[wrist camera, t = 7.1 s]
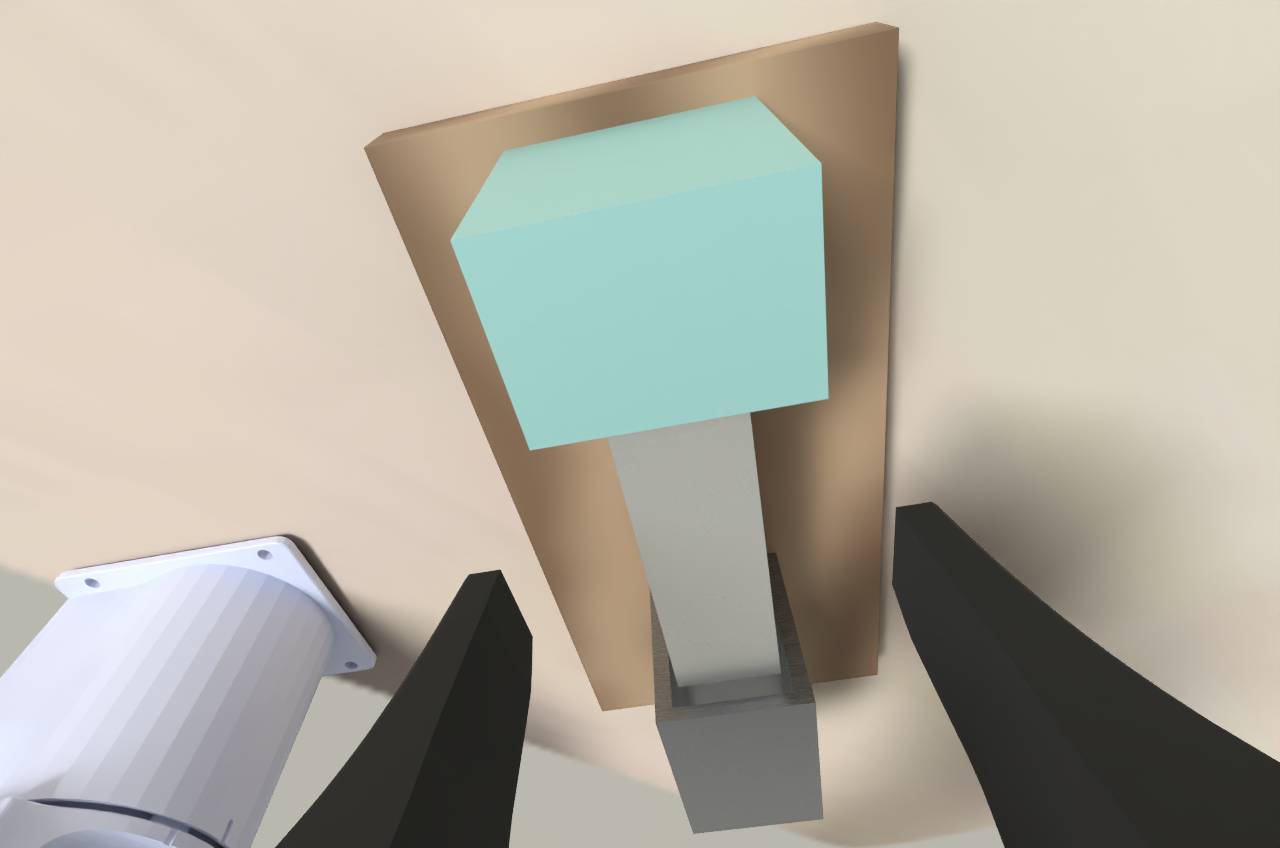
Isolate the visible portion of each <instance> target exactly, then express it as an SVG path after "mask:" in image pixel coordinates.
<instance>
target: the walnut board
mask: <svg viewBox="0 0 1280 848" xmlns="http://www.w3.org/2000/svg"><path fill="white" fill-rule="evenodd" d="M898 41H899V28H898V27H894V26H890V25H886V24H882V23H878V22H874V23H870V24H865V25H861V26H856V27H852V28H847V29H843V30H839V31H834V32H830V33H825V34H821V35H817V36H812V37H808V38H803V39H799V40H794V41H790V42H786V43H781V44H777V45H772V46H768V47H763V48H759V49H755V50H750V51H746V52H741V53H737V54H732V55H728V56H724V57H719V58H715V59H710V60H706V61H701V62H697V63H693V64H688V65H684V66H679V67H675V68H670V69H666V70H662V71H657V72H653V73H648V74H644V75H639V76H635V77H631V78H626V79H622V80H617V81H613V82H608V83H604V84H600V85H595V86H591V87H586V88H582V89H577V90H573V91H569V92H564V93H560V94H555V95H551V96H546V97H542V98H538V99H533V100H529V101H524V102H520V103H515V104H511V105H507V106H502V107H498V108H493V109H489V110H484V111H480V112H476V113H471V114H467V115H462V116H458V117H453V118H449V119H445V120H440V121H436V122H431V123H427V124H422V125H418V126H414V127H409V128H405V129H400V130H396V131H391V132H387V133H383V134H382V135H380V136H379V137H378V138H376V139H375V140H374V141H372V142H371V143H370V144H368V145H367V146H366V147H364V149H365V152H366V154H367V157H368V159H369V161H370V164H371V166H372V168H373V171H374V173H375V175H376V178H377V180H378V183H379V185H380V187H381V190H382V192H383V194H384V197H385V199H386V201H387V204H388V206H389V208H390V211H391V213H392V216H393V218H394V220H395V223H396V225H397V227H398V230H399V232H400V234H401V237H402V239H403V242H404V244H405V246H406V249H407V251H408V253H409V256H410V258H411V260H412V263H413V265H414V268H415V270H416V272H417V275H418V277H419V279H420V282H421V284H422V286H423V289H424V291H425V294H426V296H427V298H428V301H429V303H430V305H431V308H432V310H433V312H434V315H435V317H436V319H437V322H438V324H439V327H440V329H441V331H442V334H443V336H444V338H445V341H446V343H447V345H448V348H449V350H450V353H451V355H452V357H453V360H454V362H455V364H456V367H457V369H458V371H459V374H460V376H461V379H462V381H463V383H464V386H465V388H466V390H467V393H468V395H469V397H470V400H471V402H472V405H473V407H474V409H475V412H476V414H477V416H478V419H479V421H480V423H481V426H482V428H483V430H484V433H485V435H486V438H487V440H488V442H489V445H490V447H491V449H492V452H493V454H494V456H495V459H496V461H497V464H498V466H499V468H500V471H501V473H502V475H503V478H504V480H505V482H506V485H507V487H508V490H509V492H510V494H511V497H512V499H513V501H514V504H515V506H516V508H517V511H518V513H519V516H520V518H521V520H522V523H523V525H524V527H525V530H526V532H527V534H528V537H529V539H530V541H531V544H532V546H533V549H534V551H535V553H536V556H537V558H538V560H539V563H540V565H541V567H542V570H543V572H544V575H545V577H546V579H547V582H548V584H549V586H550V589H551V591H552V593H553V596H554V598H555V601H556V603H557V605H558V608H559V610H560V612H561V615H562V617H563V619H564V622H565V624H566V627H567V629H568V631H569V634H570V636H571V638H572V641H573V643H574V645H575V648H576V650H577V652H578V655H579V657H580V660H581V662H582V664H583V667H584V669H585V671H586V674H587V676H588V678H589V681H590V683H591V686H592V688H593V690H594V693H595V695H596V697H597V700H598V702H599V704H600V707H601V709H602V711H608V710H616V709H623V708H631V707H638V706H646V705H653V704H655V693H654V672H653V651H652V629H651V608H650V586H649V583H648V579H647V575H646V572H645V568H644V565H643V561H642V558H641V554H640V551H639V547H638V544H637V540H636V537H635V533H634V530H633V526H632V523H631V519H630V516H629V512H628V509H627V505H626V502H625V498H624V495H623V491H622V488H621V484H620V481H619V477H618V474H617V470H616V467H615V463H614V460H613V456H612V453H611V449H610V446H609V442H608V439H607V437H605V438H599V439H594V440H588V441H582V442H576V443H571V444H565V445H559V446H553V447H547V448H542V449H536V450H530V449H529V447H528V444H527V442H526V439H525V436H524V434H523V431H522V428H521V426H520V423H519V420H518V418H517V415H516V413H515V410H514V407H513V405H512V402H511V399H510V397H509V394H508V391H507V389H506V386H505V384H504V381H503V378H502V376H501V373H500V370H499V368H498V365H497V362H496V360H495V357H494V355H493V352H492V349H491V347H490V344H489V341H488V339H487V336H486V333H485V331H484V328H483V326H482V323H481V320H480V318H479V315H478V312H477V310H476V307H475V304H474V302H473V299H472V297H471V294H470V291H469V289H468V286H467V283H466V281H465V278H464V275H463V273H462V270H461V268H460V265H459V262H458V260H457V257H456V254H455V252H454V249H453V246H452V244H451V241H450V240H451V238H452V236H453V235H454V233H455V232H456V230H457V228H458V227H459V225H460V223H461V222H462V220H463V218H464V217H465V215H466V213H467V212H468V210H469V208H470V207H471V205H472V203H473V202H474V200H475V198H476V197H477V195H478V193H479V192H480V190H481V188H482V187H483V185H484V183H485V182H486V180H487V178H488V177H489V175H490V173H491V172H492V170H493V168H494V167H495V165H496V163H497V162H498V160H499V158H500V157H501V155H502V153H503V152H504V151H506V150H511V149H515V148H520V147H524V146H529V145H534V144H538V143H543V142H547V141H552V140H556V139H561V138H566V137H570V136H575V135H579V134H584V133H588V132H593V131H597V130H602V129H607V128H611V127H616V126H620V125H625V124H629V123H634V122H639V121H643V120H648V119H652V118H657V117H661V116H666V115H671V114H675V113H680V112H684V111H689V110H693V109H698V108H702V107H707V106H712V105H716V104H721V103H725V102H730V101H734V100H739V99H744V98H748V97H753V96H756V97H757V98H758V99H759V100H760V101H761V102H762V103H763V104H764V105H765V106H766V107H767V108H768V109H769V110H770V111H771V112H772V113H773V114H774V115H775V116H776V117H777V119H778V120H779V121H780V122H781V123H782V124H783V125H784V126H785V127H786V128H787V129H788V130H789V131H790V132H791V133H792V134H793V135H794V136H795V137H796V138H797V139H798V140H799V141H800V142H801V143H802V144H803V145H804V146H805V147H806V148H807V149H808V150H809V151H810V152H811V153H812V154H813V155H814V156H815V157H816V158H817V159H818V160H819V161H820V162H821V167H822V199H823V232H824V265H825V298H826V331H827V364H828V397H829V399H824V400H819V401H813V402H807V403H801V404H796V405H790V406H784V407H778V408H772V409H767V410H761V411H755V412H750V416H751V424H752V433H753V441H754V450H755V458H756V467H757V475H758V484H759V492H760V500H761V509H762V517H763V526H764V534H765V543H766V551H767V554H770V553H776V554H777V558H778V562H779V565H780V569H781V573H782V577H783V581H784V585H785V588H786V592H787V596H788V600H789V604H790V607H791V611H792V615H793V619H794V623H795V626H796V630H797V634H798V638H799V642H800V646H801V649H802V653H803V657H804V661H805V665H806V668H807V672H808V676H809V680H810V684H811V683H819V682H826V681H834V680H841V679H849V678H856V677H864V676H871V675H877V672H878V642H879V612H880V582H881V552H882V522H883V492H884V462H885V432H886V402H887V372H888V342H889V312H890V282H891V252H892V222H893V192H894V162H895V132H896V102H897V71H898Z"/></svg>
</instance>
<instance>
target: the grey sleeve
mask: <svg viewBox="0 0 1280 848" xmlns="http://www.w3.org/2000/svg"><path fill="white" fill-rule="evenodd" d="M767 560H768V568H769V577H770V585H771V594H772V602H773V610H774V619H775V627H776V636H777V644H778V653H779V661H780V670H781V673H780V674H773V675H766V676H758V677H751V678H743V679H736V680H729V681H721V682H714V683H706V684H699V685H692V686H684V687H678V684H677V681H676V677H675V674H674V670H673V667H672V663H671V660H670V656H669V653H668V649H667V646H666V642H665V639H664V635H663V632H662V628H661V625H660V621H659V618H658V614H657V611H656V607H655V604H654V600H653V597H652V593H651V590H650V608H651V629H652V651H653V672H654V693H655V715H656V725H657V728H658V731H659V734H660V737H661V740H662V743H663V746H664V749H665V752H666V754H667V757H668V760H669V763H670V766H671V769H672V772H673V775H674V778H675V781H676V784H677V787H678V790H679V793H680V796H681V798H682V801H683V804H684V807H685V810H686V813H687V816H688V819H689V822H690V825H691V828H692V830H693V833H694V834H695V833H704V832H713V831H722V830H730V829H739V828H748V827H757V826H766V825H775V824H783V823H792V822H801V821H810V820H819V819H823V808H822V793H821V778H820V763H819V748H818V733H817V718H816V703H815V699H814V695H813V691H812V688H811V684H810V680H809V676H808V672H807V668H806V665H805V661H804V657H803V653H802V649H801V646H800V642H799V638H798V634H797V630H796V626H795V623H794V619H793V615H792V611H791V607H790V604H789V600H788V596H787V592H786V588H785V585H784V581H783V577H782V573H781V569H780V565H779V562H778V558H777V554H776V553H770V554H767Z"/></svg>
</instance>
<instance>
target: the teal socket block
mask: <svg viewBox="0 0 1280 848" xmlns="http://www.w3.org/2000/svg"><path fill="white" fill-rule="evenodd" d="M450 241H451V244H452V246H453V249H454V252H455V254H456V257H457V260H458V262H459V265H460V268H461V270H462V273H463V275H464V278H465V281H466V283H467V286H468V289H469V291H470V294H471V297H472V299H473V302H474V304H475V307H476V310H477V312H478V315H479V318H480V320H481V323H482V326H483V328H484V331H485V333H486V336H487V339H488V341H489V344H490V347H491V349H492V352H493V355H494V357H495V360H496V362H497V365H498V368H499V370H500V373H501V376H502V378H503V381H504V384H505V386H506V389H507V391H508V394H509V397H510V399H511V402H512V405H513V407H514V410H515V413H516V415H517V418H518V420H519V423H520V426H521V428H522V431H523V434H524V436H525V439H526V442H527V444H528V447H529V449H530V450H536V449H542V448H547V447H553V446H559V445H565V444H571V443H576V442H582V441H588V440H594V439H599V438H605V437H611V436H617V435H622V434H628V433H634V432H640V431H646V430H651V429H657V428H663V427H669V426H674V425H680V424H686V423H692V422H697V421H703V420H709V419H715V418H721V417H726V416H732V415H738V414H744V413H749V412H755V411H761V410H767V409H772V408H778V407H784V406H790V405H796V404H801V403H807V402H813V401H819V400H824V399H829V397H828V364H827V331H826V298H825V265H824V232H823V199H822V167H821V162H820V161H819V160H818V159H817V158H816V157H815V156H814V155H813V154H812V153H811V152H810V151H809V150H808V149H807V148H806V147H805V146H804V145H803V144H802V143H801V142H800V141H799V140H798V139H797V138H796V137H795V136H794V135H793V134H792V133H791V132H790V131H789V130H788V129H787V128H786V127H785V126H784V125H783V124H782V123H781V122H780V121H779V120H778V119H777V117H776V116H775V115H774V114H773V113H772V112H771V111H770V110H769V109H768V108H767V107H766V106H765V105H764V104H763V103H762V102H761V101H760V100H759V99H758V98H757V97H756V96H753V97H748V98H744V99H739V100H734V101H730V102H725V103H721V104H716V105H712V106H707V107H702V108H698V109H693V110H689V111H684V112H680V113H675V114H671V115H666V116H661V117H657V118H652V119H648V120H643V121H639V122H634V123H629V124H625V125H620V126H616V127H611V128H607V129H602V130H597V131H593V132H588V133H584V134H579V135H575V136H570V137H566V138H561V139H556V140H552V141H547V142H543V143H538V144H534V145H529V146H524V147H520V148H515V149H511V150H506V151H504V152H503V153H502V155H501V157H500V158H499V160H498V162H497V163H496V165H495V167H494V168H493V170H492V172H491V173H490V175H489V177H488V178H487V180H486V182H485V183H484V185H483V187H482V188H481V190H480V192H479V193H478V195H477V197H476V198H475V200H474V202H473V203H472V205H471V207H470V208H469V210H468V212H467V213H466V215H465V217H464V218H463V220H462V222H461V223H460V225H459V227H458V228H457V230H456V232H455V233H454V235H453V236H452V238H451V240H450Z"/></svg>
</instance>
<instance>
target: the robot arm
mask: <svg viewBox="0 0 1280 848" xmlns="http://www.w3.org/2000/svg"><path fill="white" fill-rule="evenodd" d="M54 582H55V586H56V587H57V588H58V590H60V591H61V592H62V593H63V594H64V595H65V596H66V597H67V598H68V600H67V601H66V602H65V604H64V605H63V606H62V607H61V608H60V609H59V611H58V612H57V613H56V614H55V615H54V616H53V618H52V619H51V620H50V621H49V622H48V623H47V624H46V626H45V627H44V628H43V629H42V630H41V632H40V633H39V634H38V635H37V636H36V637H35V638H34V640H33V641H32V642H31V643H30V644H29V645H28V647H27V648H26V649H25V650H24V651H23V652H22V654H21V655H20V656H19V657H18V658H17V659H16V661H15V662H14V663H13V664H12V665H11V667H9V669H8V670H7V671H6V672H5V674H3V676H2V677H1V678H0V848H251V845H252V843H253V840H254V838H255V835H256V833H257V831H258V828H259V826H260V824H261V821H262V819H263V816H264V814H265V811H266V809H267V807H268V804H269V802H270V799H271V797H272V795H273V792H274V790H275V787H276V785H277V783H278V780H279V778H280V775H281V773H282V771H283V768H284V766H285V763H286V761H287V759H288V756H289V754H290V751H291V749H292V747H293V744H294V742H295V739H296V737H297V735H298V732H299V730H300V727H301V725H302V722H303V720H304V718H305V715H306V713H307V710H308V708H309V705H310V703H311V701H312V698H313V696H314V694H315V691H316V689H317V686H318V684H319V682H320V679H321V677H322V676H327V675H334V674H341V673H348V672H355V671H362V670H368V669H371V668H373V667H374V665H375V662H376V659H377V657H376V654H375V653H374V652H373V650H372V649H371V648H370V646H369V645H368V644H367V642H366V641H365V639H364V638H363V637H362V635H361V634H360V633H359V631H358V630H357V629H356V627H355V626H354V624H353V623H352V622H351V620H350V619H349V618H348V616H347V615H346V614H345V612H344V611H343V609H342V608H341V607H340V605H339V604H338V603H337V601H336V600H335V599H334V597H333V596H332V594H331V593H330V592H329V590H328V589H327V588H326V586H325V585H324V584H323V582H322V581H321V579H320V578H319V577H318V575H317V574H316V573H315V571H314V570H313V568H312V567H311V566H310V564H309V563H308V562H307V560H306V559H305V558H304V556H303V555H302V553H301V552H300V551H299V549H298V548H297V547H296V545H295V544H294V543H293V542H292V541H291V540H290V539H288V538H286V537H282V536H274V537H268V538H262V539H256V540H250V541H244V542H238V543H232V544H226V545H220V546H214V547H208V548H202V549H196V550H190V551H184V552H178V553H172V554H166V555H160V556H154V557H148V558H142V559H136V560H130V561H124V562H118V563H112V564H106V565H100V566H94V567H88V568H82V569H76V570H70V571H65V572H62V573H61V574H60V575H59V576H58V577H57V579H56V580H55V581H54ZM892 585H893V588H894V591H895V593H896V596H897V599H898V602H899V605H900V608H901V611H902V614H903V617H904V620H905V623H906V625H907V628H908V631H909V634H910V636H911V639H912V641H913V643H914V645H915V648H916V650H917V652H918V654H919V656H920V658H921V660H922V662H923V664H924V666H925V668H926V671H927V673H928V675H929V677H930V679H931V681H932V683H933V685H934V687H935V689H936V691H937V693H938V695H939V698H940V700H941V702H942V704H943V706H944V708H945V710H946V712H947V714H948V716H949V718H950V720H951V722H952V724H953V726H954V728H955V730H956V733H957V735H958V737H959V739H960V741H961V743H962V745H963V747H964V749H965V751H966V753H967V755H968V757H969V759H970V762H971V764H972V766H973V768H974V771H975V773H976V775H977V777H978V780H979V782H980V784H981V787H982V789H983V791H984V794H985V797H986V799H987V802H988V805H989V807H990V810H991V813H992V815H993V818H994V820H995V823H996V826H997V828H998V831H999V834H1000V836H1001V839H1002V842H1003V844H1004V847H1005V848H1280V762H1278V761H1276V760H1275V759H1273V758H1271V757H1270V756H1268V755H1266V754H1265V753H1263V752H1261V751H1260V750H1258V749H1256V748H1255V747H1253V746H1251V745H1249V744H1248V743H1246V742H1244V741H1243V740H1241V739H1239V738H1238V737H1236V736H1234V735H1233V734H1231V733H1229V732H1228V731H1226V730H1224V729H1223V728H1221V727H1219V726H1218V725H1216V724H1214V723H1213V722H1211V721H1209V720H1208V719H1206V718H1205V717H1203V716H1201V715H1200V714H1198V713H1197V712H1195V711H1194V710H1192V709H1191V708H1189V707H1188V706H1186V705H1185V704H1183V703H1182V702H1180V701H1178V700H1177V699H1175V698H1174V697H1172V696H1171V695H1169V694H1168V693H1166V692H1165V691H1163V690H1162V689H1160V688H1159V687H1157V686H1156V685H1154V684H1153V683H1151V682H1150V681H1149V680H1147V679H1146V678H1144V677H1143V676H1141V675H1140V674H1138V673H1137V672H1135V671H1134V670H1133V669H1131V668H1130V667H1128V666H1127V665H1125V664H1124V663H1123V662H1121V661H1120V660H1119V659H1117V658H1116V657H1114V656H1113V655H1112V654H1110V653H1109V652H1108V651H1106V650H1105V649H1104V648H1102V647H1101V646H1099V645H1098V644H1097V643H1095V642H1094V641H1093V640H1091V639H1090V638H1089V637H1088V636H1086V635H1085V634H1084V633H1082V632H1081V631H1080V630H1079V629H1077V628H1076V627H1075V626H1073V625H1072V624H1071V623H1070V622H1068V621H1067V620H1066V619H1064V618H1063V617H1062V616H1061V615H1059V614H1058V613H1057V612H1056V611H1054V610H1053V609H1052V608H1051V607H1050V606H1048V605H1047V604H1046V603H1045V602H1043V601H1042V600H1041V599H1040V598H1039V597H1038V596H1036V595H1035V594H1034V593H1033V592H1032V591H1030V590H1029V589H1028V588H1027V587H1026V586H1025V585H1023V584H1022V583H1021V582H1020V581H1019V580H1018V579H1016V578H1015V577H1014V576H1013V575H1012V574H1010V573H1009V572H1008V571H1007V570H1006V569H1005V568H1004V567H1003V566H1001V565H1000V564H999V563H998V562H997V561H996V560H995V559H994V558H992V557H991V556H990V555H989V554H988V553H987V552H986V551H985V550H984V549H983V548H982V547H980V546H979V545H978V544H977V543H976V542H975V541H974V540H973V539H972V538H971V537H970V536H969V535H968V534H966V533H965V532H964V531H963V530H962V529H961V528H960V527H959V526H958V525H957V524H956V523H955V522H954V521H953V520H952V519H951V518H950V517H949V516H948V515H947V514H946V513H945V512H943V511H942V510H941V509H940V508H939V507H938V506H937V505H936V504H934V503H933V502H928V503H921V504H915V505H909V506H902V507H896V519H895V539H894V560H893V580H892ZM532 639H533V637H532V635H531V632H530V630H529V628H528V626H527V624H526V622H525V620H524V618H523V616H522V614H521V612H520V610H519V607H518V605H517V603H516V601H515V599H514V597H513V595H512V593H511V591H510V589H509V587H508V584H507V582H506V580H505V578H504V576H503V574H502V572H501V570H495V571H489V572H482V573H476V574H470V575H468V577H467V578H466V579H465V581H464V583H463V584H462V586H461V588H460V589H459V591H458V593H457V594H456V596H455V598H454V600H453V601H452V603H451V605H450V606H449V608H448V610H447V611H446V613H445V615H444V616H443V618H442V620H441V622H440V623H439V625H438V627H437V628H436V630H435V631H434V633H433V635H432V636H431V638H430V640H429V641H428V643H427V645H426V646H425V648H424V650H423V651H422V653H421V654H420V656H419V657H418V659H417V661H416V662H415V664H414V665H413V667H412V669H411V670H410V672H409V673H408V675H407V676H406V678H405V680H404V681H403V683H402V684H401V686H400V687H399V689H398V690H397V692H396V693H395V695H394V696H393V698H392V699H391V701H390V702H389V704H388V705H387V706H386V708H385V709H384V711H383V712H382V714H381V715H380V717H379V718H378V719H377V721H376V723H375V724H374V725H373V727H372V728H371V730H370V731H369V733H368V734H367V736H366V737H365V738H364V739H363V741H362V742H361V744H360V745H359V746H358V748H357V749H356V750H355V752H354V753H353V754H352V756H351V757H350V758H349V760H348V761H347V762H346V763H345V765H344V766H343V767H342V769H341V770H340V771H339V772H338V774H337V775H336V776H335V778H334V779H333V780H332V781H331V783H330V784H329V785H328V786H327V788H326V789H325V790H324V791H323V793H322V794H321V795H320V796H319V798H318V799H317V800H316V801H315V802H314V803H313V805H312V806H311V807H310V808H309V810H307V812H306V813H305V814H304V815H303V816H302V818H301V819H300V820H299V821H298V822H297V823H296V825H295V826H294V827H293V828H292V829H291V830H290V831H289V832H288V834H287V835H286V836H285V837H284V838H283V839H282V840H281V842H280V843H279V844H278V845H277V846H276V847H275V848H509V839H510V831H511V830H510V829H511V822H512V813H513V807H514V800H515V794H516V788H517V781H518V774H519V768H520V762H521V754H522V748H523V742H524V735H525V729H526V722H527V715H528V708H529V701H530V694H531V677H532Z"/></svg>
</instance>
